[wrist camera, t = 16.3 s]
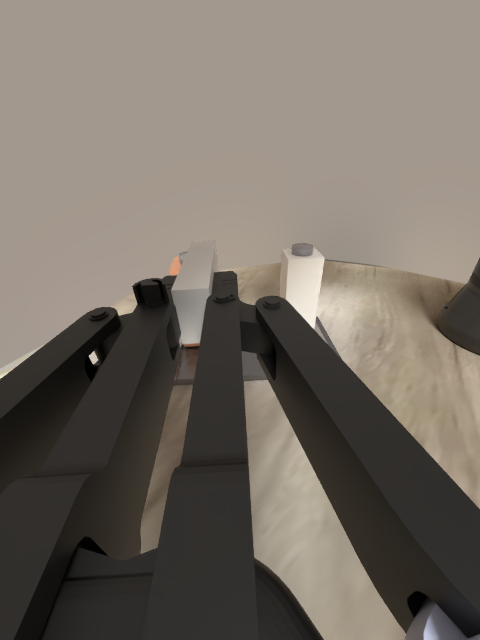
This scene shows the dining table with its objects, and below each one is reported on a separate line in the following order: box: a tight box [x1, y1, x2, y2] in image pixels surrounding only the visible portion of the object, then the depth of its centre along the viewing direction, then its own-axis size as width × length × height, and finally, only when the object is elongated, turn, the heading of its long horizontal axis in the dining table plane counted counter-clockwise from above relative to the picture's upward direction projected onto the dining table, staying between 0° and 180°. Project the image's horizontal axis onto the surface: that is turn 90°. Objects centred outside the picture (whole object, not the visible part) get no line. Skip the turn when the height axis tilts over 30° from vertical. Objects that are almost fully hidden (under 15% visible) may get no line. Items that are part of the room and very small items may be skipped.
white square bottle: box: [279, 243, 325, 329], centre depth 41 cm, size 5×5×14 cm
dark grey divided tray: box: [173, 317, 341, 385], centre depth 41 cm, size 26×14×3 cm, turn 93°
